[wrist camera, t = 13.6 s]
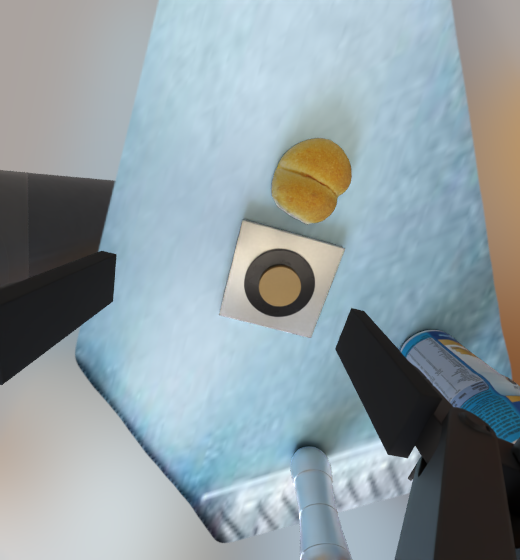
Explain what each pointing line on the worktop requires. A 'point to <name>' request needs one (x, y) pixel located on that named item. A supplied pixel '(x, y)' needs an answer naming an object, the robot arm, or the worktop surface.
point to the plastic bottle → (317, 507)
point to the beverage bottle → (467, 381)
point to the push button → (279, 278)
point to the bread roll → (311, 179)
